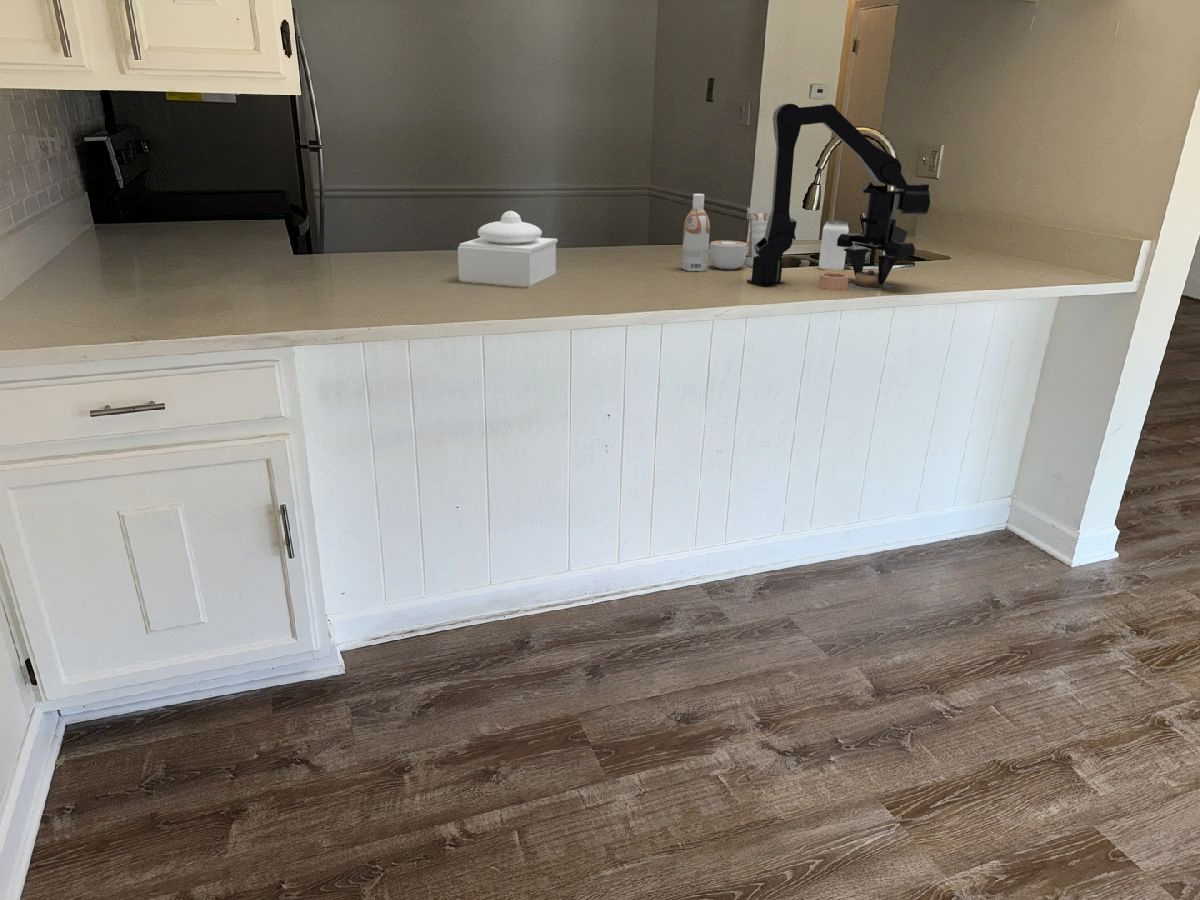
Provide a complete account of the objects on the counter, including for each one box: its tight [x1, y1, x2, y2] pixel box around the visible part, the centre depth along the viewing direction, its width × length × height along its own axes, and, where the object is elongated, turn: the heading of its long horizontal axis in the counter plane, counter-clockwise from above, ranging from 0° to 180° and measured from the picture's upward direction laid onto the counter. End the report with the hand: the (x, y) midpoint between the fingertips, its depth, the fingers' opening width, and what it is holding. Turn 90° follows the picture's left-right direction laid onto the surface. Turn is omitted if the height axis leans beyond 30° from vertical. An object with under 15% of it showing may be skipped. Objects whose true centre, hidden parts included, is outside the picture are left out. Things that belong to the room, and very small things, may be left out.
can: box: [818, 220, 850, 271], centre depth 221 cm, size 6×6×12 cm
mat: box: [848, 282, 898, 291], centre depth 201 cm, size 10×8×1 cm
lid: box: [854, 269, 885, 288], centre depth 201 cm, size 7×7×3 cm
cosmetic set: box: [681, 193, 772, 272], centre depth 218 cm, size 25×9×19 cm, turn 112°
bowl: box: [818, 272, 850, 292], centre depth 198 cm, size 6×6×3 cm
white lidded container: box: [457, 210, 559, 286], centre depth 199 cm, size 18×18×16 cm
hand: (869, 281), depth 201 cm, fingers closed on lid, 7 cm apart
